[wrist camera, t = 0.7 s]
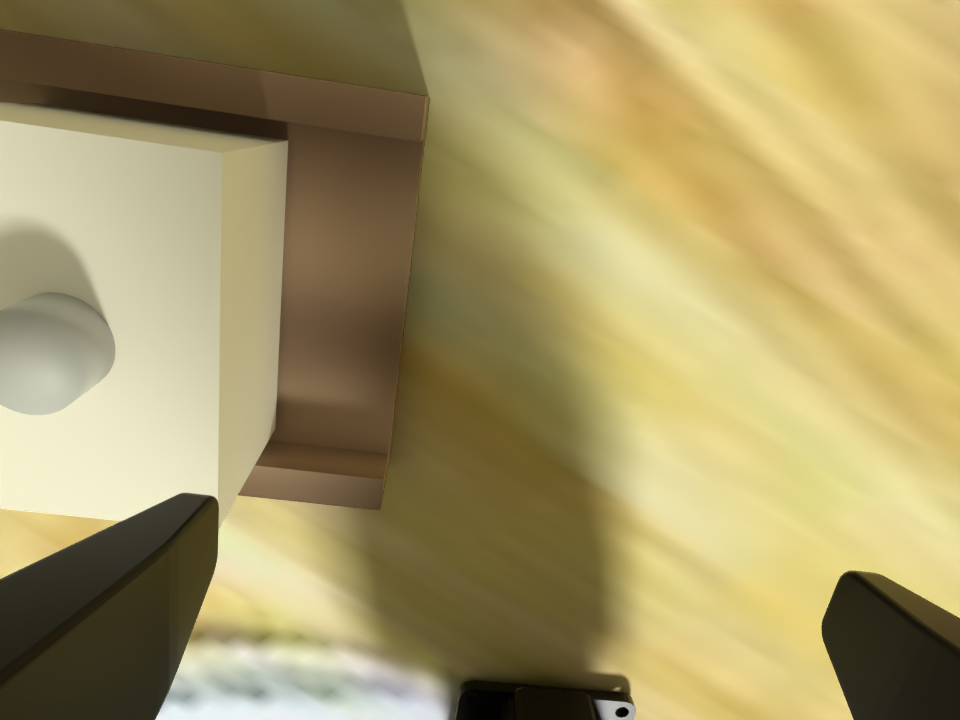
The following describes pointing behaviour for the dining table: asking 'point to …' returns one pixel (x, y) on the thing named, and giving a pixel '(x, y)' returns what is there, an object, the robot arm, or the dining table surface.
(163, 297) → the carriage
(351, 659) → the dining table surface
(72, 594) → the robot arm
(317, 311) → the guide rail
